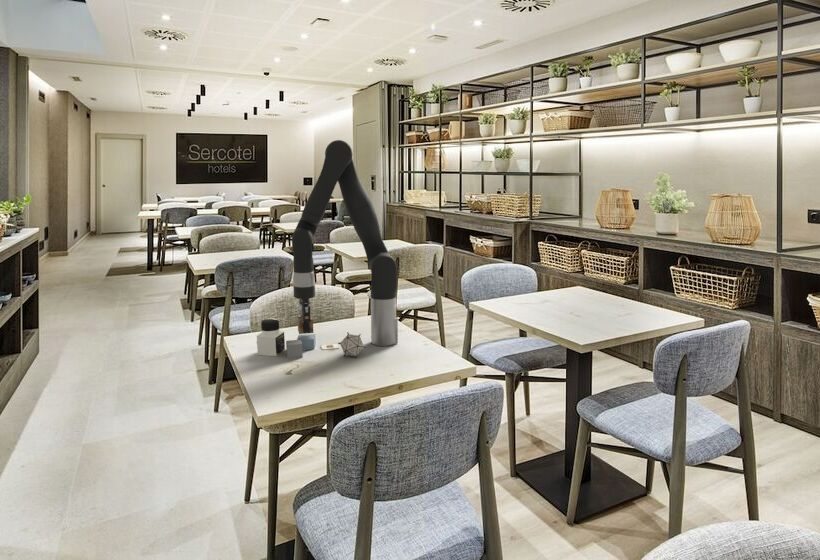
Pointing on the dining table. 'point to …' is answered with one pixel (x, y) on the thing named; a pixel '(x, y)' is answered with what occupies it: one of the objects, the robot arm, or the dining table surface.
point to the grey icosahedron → (352, 345)
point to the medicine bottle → (270, 338)
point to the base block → (307, 341)
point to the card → (329, 346)
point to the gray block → (294, 349)
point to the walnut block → (300, 325)
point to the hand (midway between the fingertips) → (305, 330)
